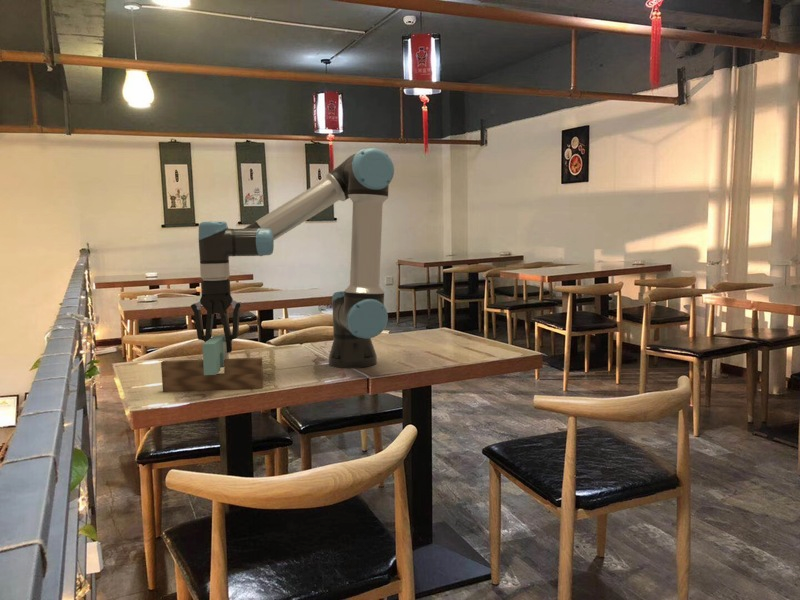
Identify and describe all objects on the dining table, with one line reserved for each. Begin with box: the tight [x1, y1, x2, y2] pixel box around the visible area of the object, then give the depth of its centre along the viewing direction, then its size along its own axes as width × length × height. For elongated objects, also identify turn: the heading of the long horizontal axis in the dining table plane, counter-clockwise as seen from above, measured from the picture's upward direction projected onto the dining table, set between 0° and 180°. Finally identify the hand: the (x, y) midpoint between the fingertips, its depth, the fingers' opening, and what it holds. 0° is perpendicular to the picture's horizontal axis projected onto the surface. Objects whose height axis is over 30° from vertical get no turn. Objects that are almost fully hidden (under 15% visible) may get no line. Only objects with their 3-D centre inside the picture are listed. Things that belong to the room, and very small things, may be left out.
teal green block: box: [201, 334, 226, 375], centre depth 165 cm, size 3×14×8 cm, turn 4°
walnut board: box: [160, 357, 264, 393], centre depth 166 cm, size 26×2×8 cm, turn 94°
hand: (219, 364), depth 170 cm, fingers closed on teal green block, 3 cm apart
